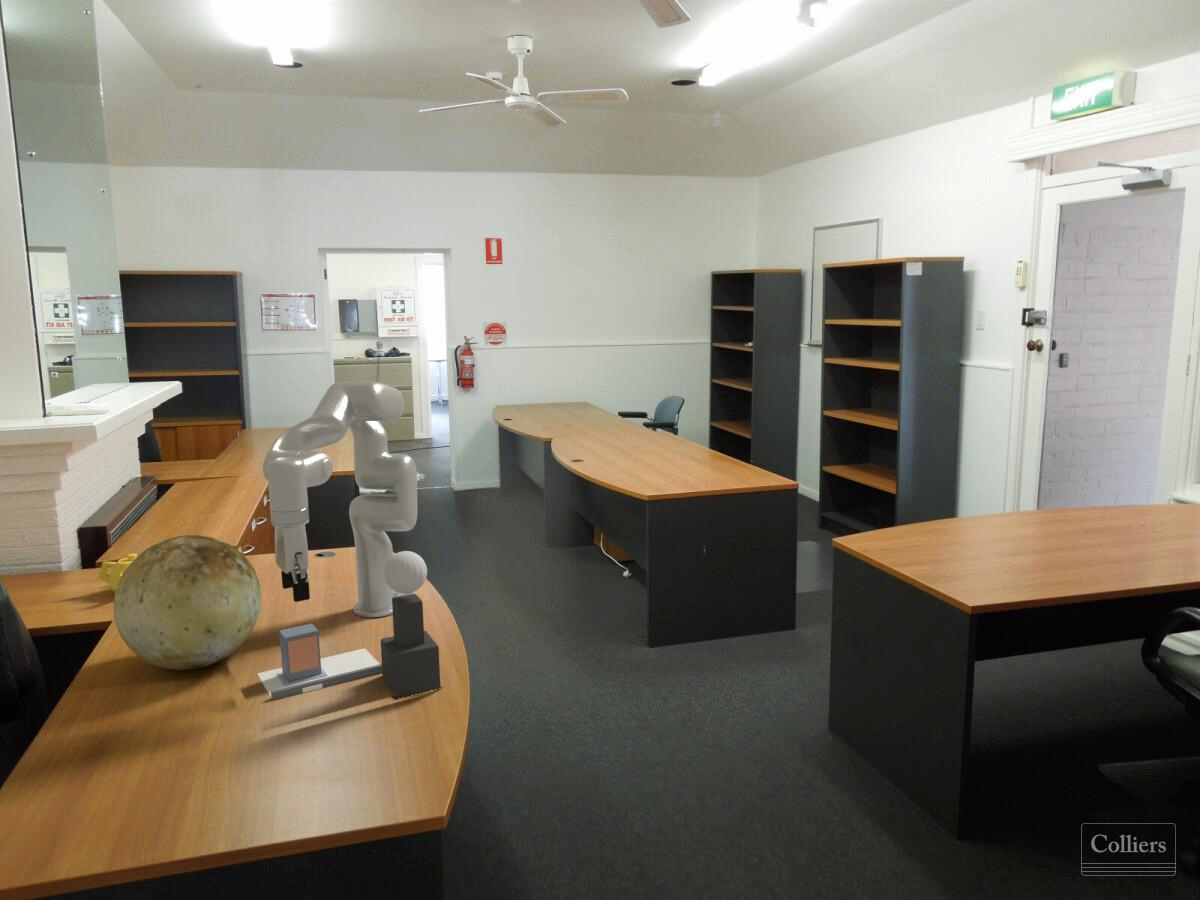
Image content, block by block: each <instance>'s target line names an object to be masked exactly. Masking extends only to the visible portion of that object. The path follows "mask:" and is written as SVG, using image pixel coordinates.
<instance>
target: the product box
mask: <svg viewBox="0 0 1200 900" xmlns="http://www.w3.org/2000/svg"><path fill="white" fill-rule="evenodd" d="M319 633H320V631H319V629H318V628H317V627H316V626H315V625H314V623H308V624H303V625H299V626H294V627H289V628H284V629H281V630H279V633H278V635H279V643H280V645H279V647H280V657H281V668H282V672H283V675H284V676H285V678H286V679H287V681H288V682H291V681H295V680H299V679H303V678H307V677H311V676H316V675H320V674H322V673H321V646H320V634H319Z"/></svg>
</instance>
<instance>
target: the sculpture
mask: <svg viewBox="0 0 1200 900" xmlns="http://www.w3.org/2000/svg"><path fill="white" fill-rule="evenodd" d="M384 577H385V580H386V583H387V585H388V586H389V587H390V588H391V589H392V590H394V591H396V592H398V593H403V594H407V593H413V592H416V591H417V590H419V589H420V588H422V586H423V585H424V583H425V582H426V580H427V577H428V568H427V564H426V562H425V560H424V559H423V558H422V556H421V555H419V554H418V553H416V552H414V551H409V550H403V551H398V552H395V554H393V556H392V557H391V558H390V559H389V560H388V561H387V563H386V565H385V569H384ZM423 605H424V604H423V600H422V599H421V598H420V597H419V596H418V595H417V594H416V593H413V594H411V595H405V596H399V597H393V598H392V610H393V614H392V623H393V624H392V625H393V626H392V627H393V636H388V637H384V638H383V637H382V638H381V639H380V653H381V654H380V656H381V657H380V658H381V664H382V673H381V674H382V678H383V679H384V681H385V683H386V684H387V686H388V688H389V689H390V691H391V694H393V695H392V696H391V697H392V699H393V700H394V699H397V700H399V699H398V698H402V697H406V698H408V697H407V696H411V695H415V694H419V693H423V692H427V691H430V690H435V689H439V688H440V687H441V669H440V666H441V665H440V649H439V645H438V644H437V643H436V641H435V640H434V639H433V637H432V636H431V635H430V634H429V632H428V631H427V630H425V626H424V625H425V623H424V606H423ZM440 689H441V688H440ZM415 696H416V695H415ZM411 697H412V696H411ZM402 699H403V698H402Z"/></svg>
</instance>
